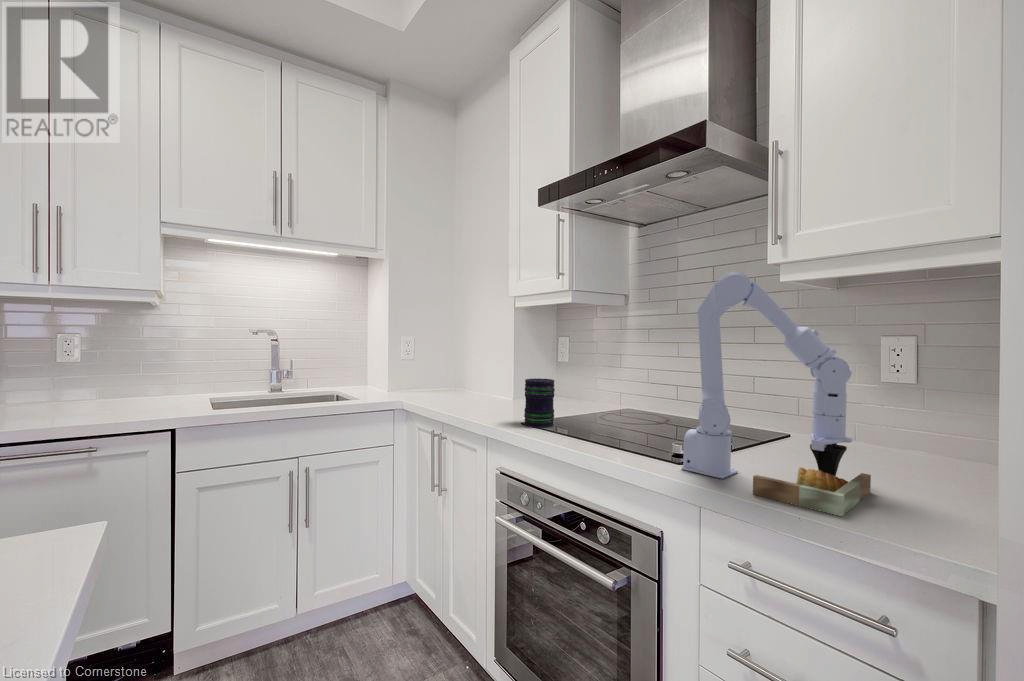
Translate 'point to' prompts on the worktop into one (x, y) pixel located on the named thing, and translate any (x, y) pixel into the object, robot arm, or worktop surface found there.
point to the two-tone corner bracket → (814, 493)
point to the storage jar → (539, 403)
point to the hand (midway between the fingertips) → (827, 480)
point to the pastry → (819, 480)
